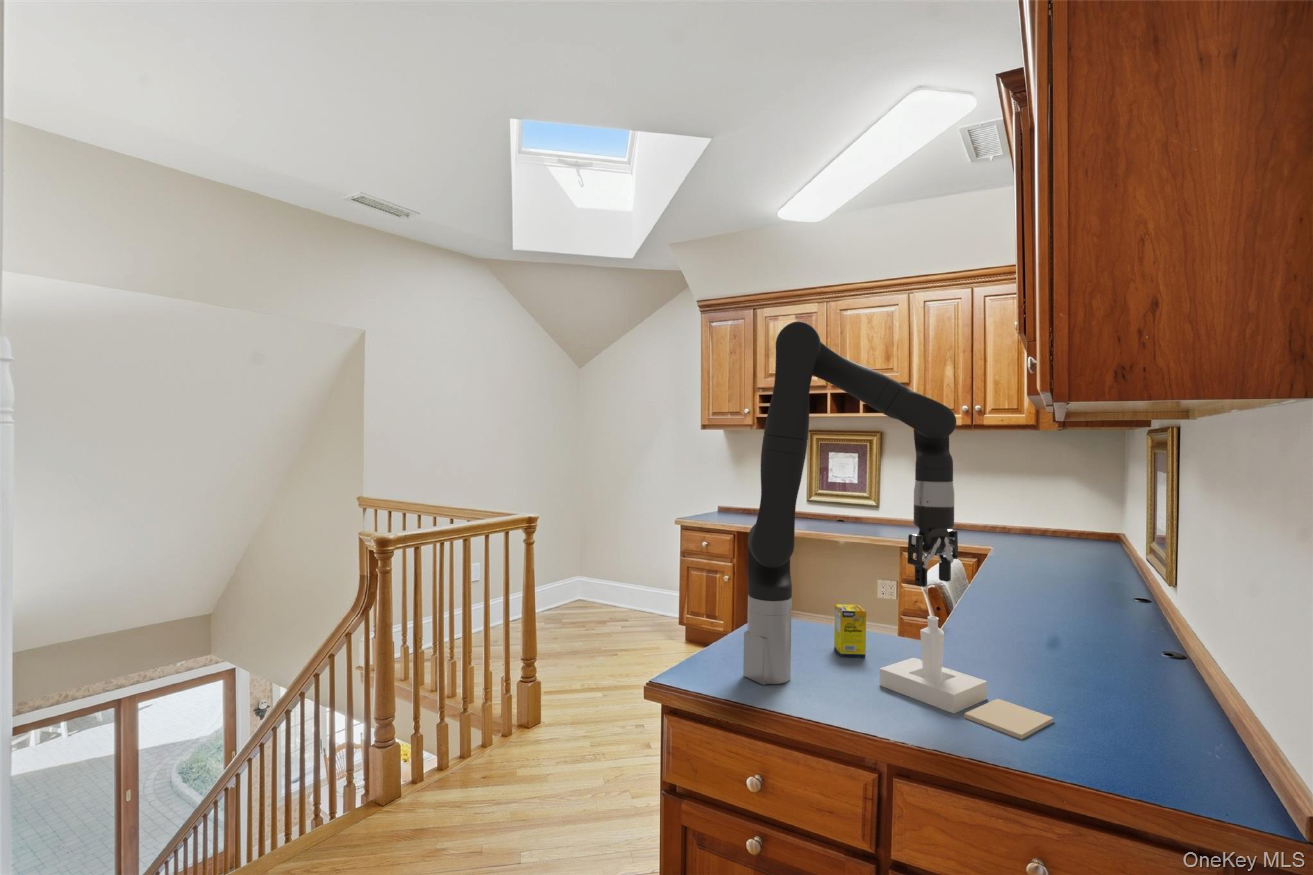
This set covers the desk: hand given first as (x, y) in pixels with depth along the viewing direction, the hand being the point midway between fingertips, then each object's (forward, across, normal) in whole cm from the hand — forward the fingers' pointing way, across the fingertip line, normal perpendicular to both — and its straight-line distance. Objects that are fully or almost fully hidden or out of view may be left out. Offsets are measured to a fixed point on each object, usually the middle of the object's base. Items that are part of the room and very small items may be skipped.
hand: (933, 583), depth 127 cm
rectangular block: (+22, 0, 0) cm, 22 cm away
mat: (+22, 0, -15) cm, 27 cm away
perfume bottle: (+22, 0, 0) cm, 22 cm away
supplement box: (+22, +5, +24) cm, 33 cm away
